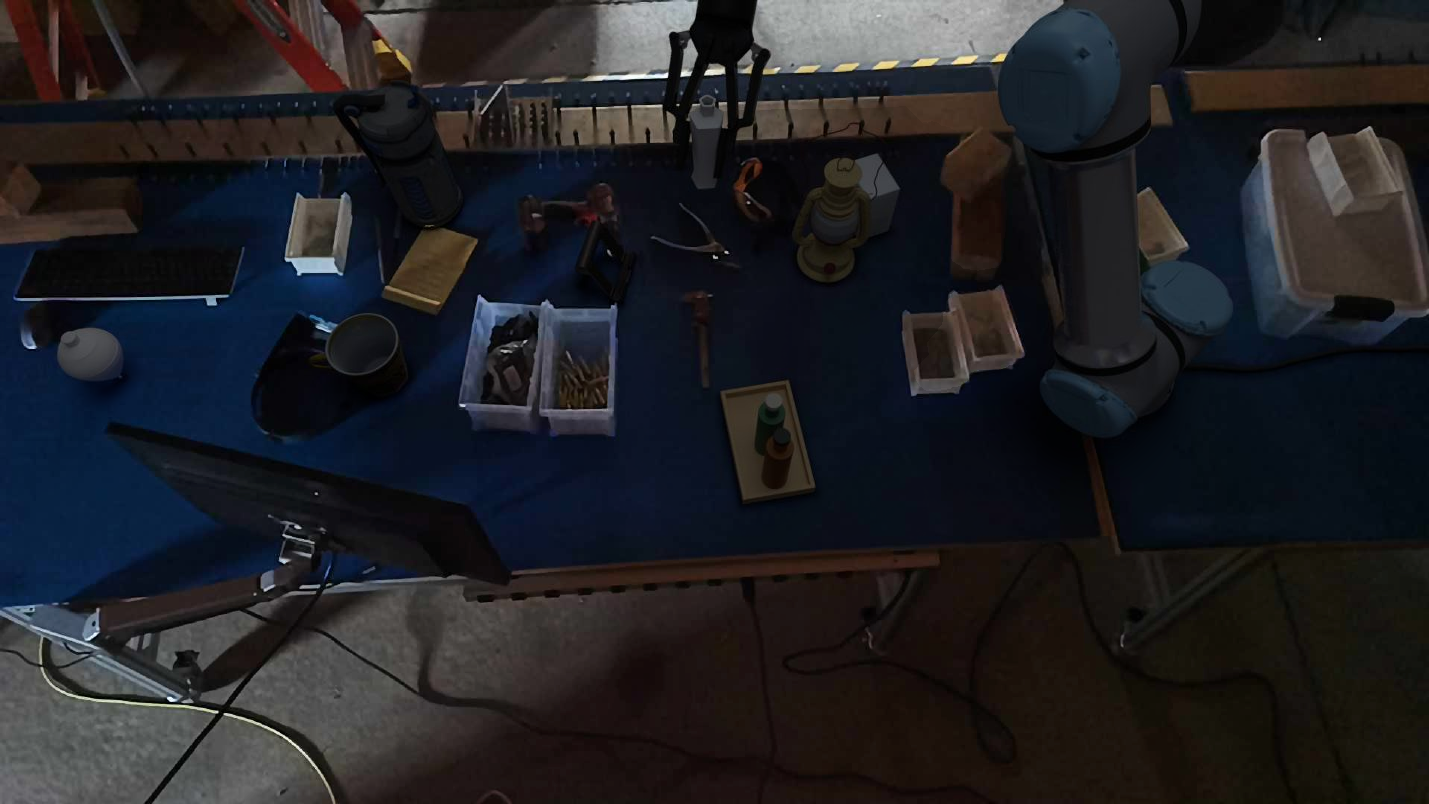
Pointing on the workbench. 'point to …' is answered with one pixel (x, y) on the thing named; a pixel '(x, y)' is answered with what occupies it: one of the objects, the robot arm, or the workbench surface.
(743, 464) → the tray
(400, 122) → the beverage bottle
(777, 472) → the amber bottle
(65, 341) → the spinning top
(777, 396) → the green bottle
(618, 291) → the tablet stand
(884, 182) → the small box
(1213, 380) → the workbench surface
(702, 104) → the perfume bottle
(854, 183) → the lantern
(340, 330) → the ceramic cup
